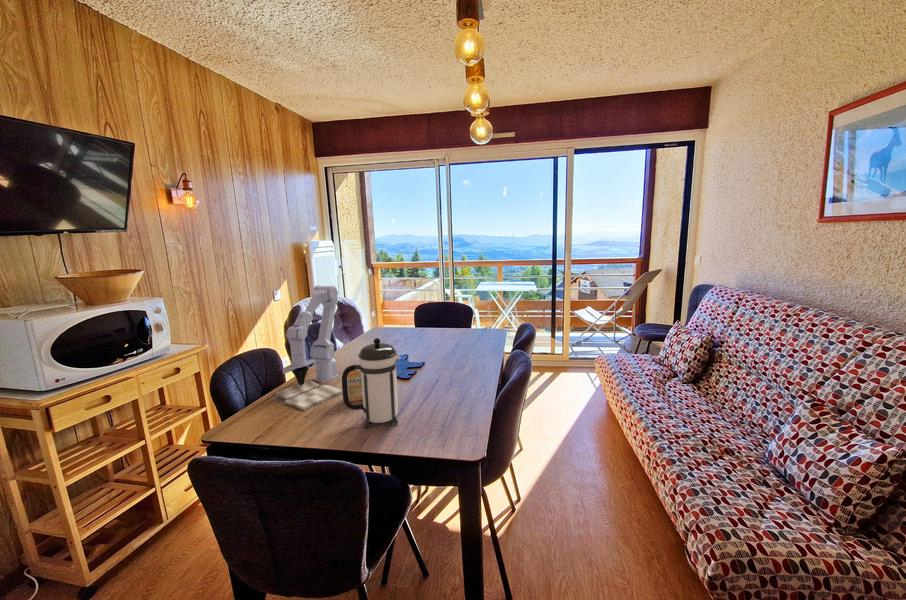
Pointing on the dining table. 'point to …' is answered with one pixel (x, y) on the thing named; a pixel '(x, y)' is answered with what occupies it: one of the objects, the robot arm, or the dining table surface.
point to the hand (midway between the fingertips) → (301, 384)
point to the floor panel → (311, 397)
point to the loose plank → (297, 390)
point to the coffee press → (375, 383)
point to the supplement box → (355, 386)
